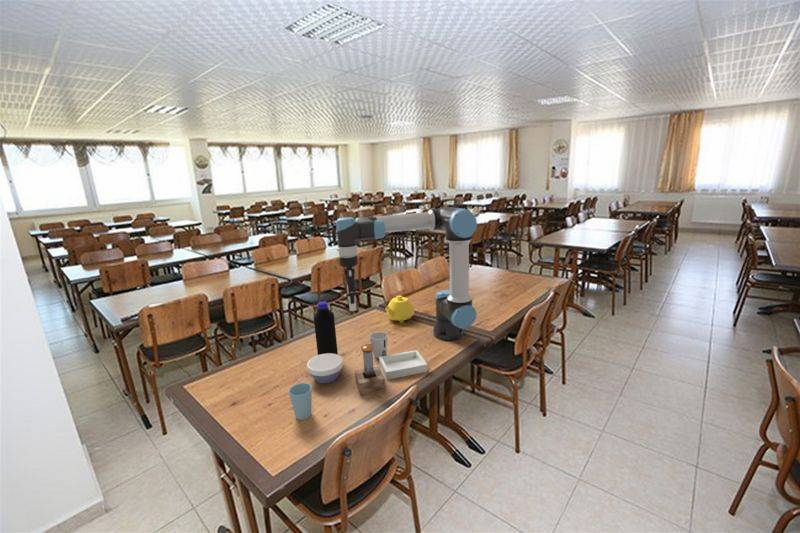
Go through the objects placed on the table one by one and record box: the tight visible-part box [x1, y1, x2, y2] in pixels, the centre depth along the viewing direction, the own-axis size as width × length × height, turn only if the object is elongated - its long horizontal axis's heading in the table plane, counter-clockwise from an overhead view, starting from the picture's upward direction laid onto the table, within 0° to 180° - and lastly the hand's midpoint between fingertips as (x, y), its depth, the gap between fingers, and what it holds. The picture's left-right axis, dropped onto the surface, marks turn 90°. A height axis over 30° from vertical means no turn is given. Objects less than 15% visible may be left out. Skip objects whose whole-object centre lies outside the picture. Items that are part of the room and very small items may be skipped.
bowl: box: [306, 353, 344, 384], centre depth 154 cm, size 14×14×8 cm
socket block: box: [354, 365, 386, 396], centre depth 147 cm, size 10×10×5 cm
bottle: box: [313, 300, 339, 355], centre depth 165 cm, size 9×9×28 cm
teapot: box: [385, 295, 415, 324], centre depth 209 cm, size 20×16×14 cm
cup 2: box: [368, 331, 388, 359], centre depth 170 cm, size 8×8×10 cm
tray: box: [378, 349, 428, 380], centre depth 159 cm, size 18×14×3 cm
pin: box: [360, 343, 375, 379], centre depth 145 cm, size 5×5×17 cm
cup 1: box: [288, 382, 312, 421], centre depth 130 cm, size 8×8×10 cm
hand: (352, 304), depth 157 cm, fingers open, 13 cm apart
